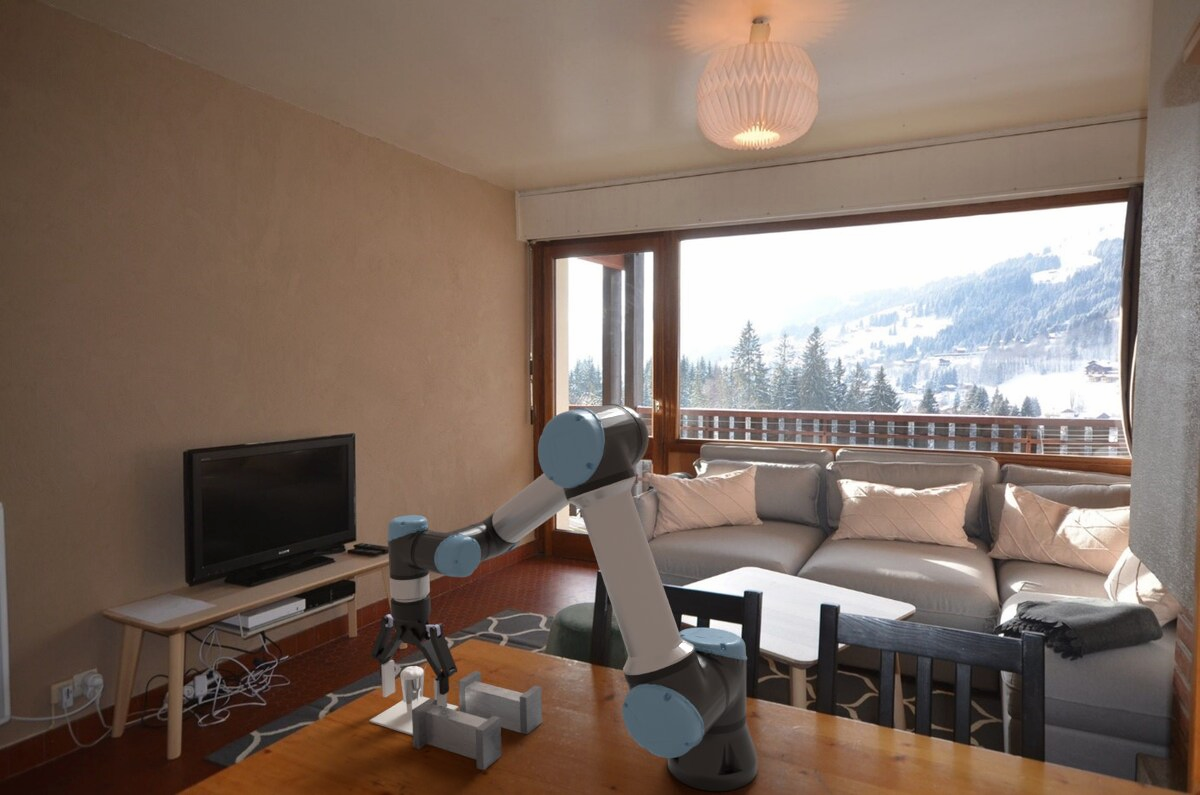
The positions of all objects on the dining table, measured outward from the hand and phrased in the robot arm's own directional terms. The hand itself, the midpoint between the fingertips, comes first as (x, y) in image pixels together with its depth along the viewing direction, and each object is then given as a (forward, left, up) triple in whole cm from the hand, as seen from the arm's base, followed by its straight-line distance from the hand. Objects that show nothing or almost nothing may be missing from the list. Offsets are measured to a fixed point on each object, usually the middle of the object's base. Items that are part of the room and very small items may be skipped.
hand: (414, 701), depth 144 cm
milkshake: (0, 0, -2) cm, 3 cm away
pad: (0, 0, -3) cm, 3 cm away
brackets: (-16, 0, -3) cm, 16 cm away
